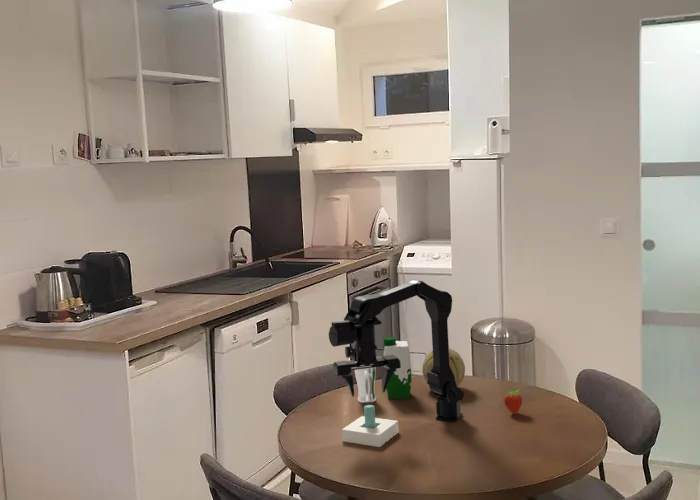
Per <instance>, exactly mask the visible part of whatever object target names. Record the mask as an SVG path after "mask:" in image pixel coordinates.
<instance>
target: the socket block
mask: <svg viewBox="0 0 700 500" xmlns="http://www.w3.org/2000/svg"><path fill="white" fill-rule="evenodd" d="M375 425H376V427H375V428H374V429H371V428H365V415H361V416H360V417H358V418H357V419H355V420H354V421H352V422H351V423H350V424H348V425H346V426H345V427H344V428H342V429H341V433H342V435H341V436H342V437H341V438H342V442H344V443H350V444H351V443H352V444H359V445H362V446H363V445H364V446H371V447H376V448H381V447H383V445H384V444H386V443H387V442H388V441H390V438H391V439H392V438H393V436H394V437H395V436H396V435H398V434H399V431H400V430H399V420H393V419H389V418H388V419H386V418H378V417H375ZM385 442H386V443H385Z"/></svg>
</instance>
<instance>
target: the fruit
mask: <svg viewBox="0 0 700 500" xmlns="http://www.w3.org/2000/svg"><path fill="white" fill-rule="evenodd" d="M510 391H511V392H510ZM510 391H507V390H505V392H506V393H507V394H506V395H505V397H504V401H503V402H504V405H505V407H506V409H507V410H508V411H509V412H510V413H511V414H514V415H516V414H517V415H518V413H519V412H520V409H521V406H522V404H523V398H522V396H521V395H520V394H521V393H519V391H520V389H517V390H514V389H511V390H510Z"/></svg>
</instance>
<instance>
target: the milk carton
mask: <svg viewBox="0 0 700 500" xmlns="http://www.w3.org/2000/svg"><path fill="white" fill-rule="evenodd" d="M408 343H409V342H408V341H407V340H396V337H395V336H386V337H383V344H382V347H383V356H387V355H394V356H396V357H397V358H398V359H399V360H400V364H401V368H398V369H396V372H393V374H392V376H391V378H390V380H389V382H388V385H387V387H386V390H385V391H386V393H387V399H388V400H398V399H399V400H401V399H410V398H411V390H412V389H411V388H412V365H411V363H412V361H411V352H410V348H409V344H408Z"/></svg>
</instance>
